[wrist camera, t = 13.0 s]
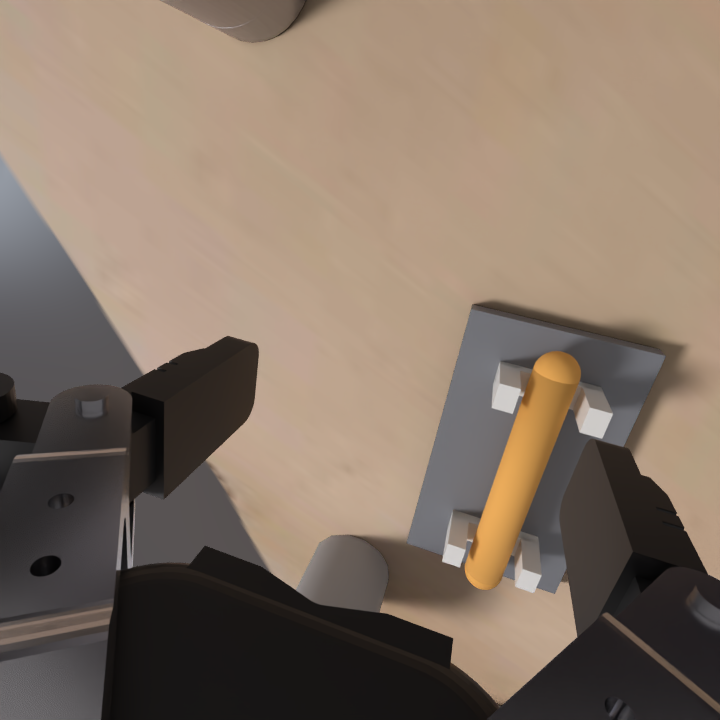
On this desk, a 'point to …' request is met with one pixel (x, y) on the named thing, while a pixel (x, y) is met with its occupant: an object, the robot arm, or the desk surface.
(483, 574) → the orange rod
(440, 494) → the board
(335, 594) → the cup
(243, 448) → the desk surface
